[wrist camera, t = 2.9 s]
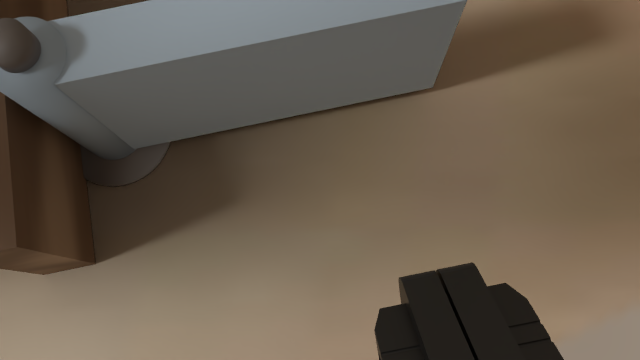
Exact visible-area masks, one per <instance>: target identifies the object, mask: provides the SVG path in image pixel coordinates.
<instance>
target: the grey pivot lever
mask: <svg viewBox="0 0 640 360" xmlns="http://www.w3.org/2000/svg"><path fill="white" fill-rule="evenodd" d="M466 2H467V0H149V1H144V2H139V3H134V4H129V5H124V6H119V7H114V8H110V9H105V10H100V11H95V12H90V13H85V14H80V15H75V16H70V17H65V18H60V19H56V20H51V21H48V22H47V21H45V20H43V19H40V18H37V17H18V18H14V19H16V20H18V21H19V22H21V23H22V24H23V25H24V26H25V27H26V28H27V29H28V30H29V31H31V32H32V33H33V34H34V35H35V36H36V37H37V38H38V40H39V42H40V44H41V54H40V57H39V59H38V61H37V62H36V64H35V65H34V66H33V67H31V68H30V69H29V70H27V71H24V72H21V73H10V72H7V71H5V70H3V69H2V68H0V92H1V93H3V94H4V95H6V96H7V97H9V98H10V99H12V100H14V101H15V102H17V103H18V104H20V105H21V106H23V107H24V108H26V109H27V110H29V111H30V112H32V113H33V114H35V115H36V116H38V117H39V118H41V119H42V120H44V121H45V122H47V123H48V124H50V125H51V126H53V127H55V128H56V129H58V130H59V131H61V132H62V133H64V134H65V135H67V136H68V137H70V138H71V139H73V140H74V141H76V142H77V143H79V144H80V145H82V146H83V147H85V148H86V149H88V150H89V151H91V152H92V153H94V154H95V155H97V156H99V157H101V158H103V159H108V160H117V159H121V158H124V157H127V156H128V155H130V154H131V153H133V152H134V151H135V150H136V149H137V148H142V147H147V146H151V145H156V144H161V143H166V142H171V141H176V140H180V139H185V138H190V137H195V136H200V135H205V134H210V133H214V132H219V131H224V130H229V129H234V128H239V127H243V126H248V125H253V124H258V123H263V122H268V121H273V120H277V119H282V118H287V117H292V116H297V115H302V114H306V113H311V112H316V111H321V110H326V109H331V108H336V107H340V106H345V105H350V104H355V103H360V102H365V101H369V100H374V99H379V98H384V97H389V96H394V95H399V94H403V93H408V92H413V91H418V90H423V89H428V88H432V87H433V85H434V83H435V80H436V78H437V75H438V73H439V70H440V68H441V65H442V63H443V60H444V58H445V55H446V52H447V50H448V47H449V45H450V42H451V40H452V37H453V35H454V32H455V30H456V27H457V25H458V22H459V19H460V17H461V14H462V12H463V9H464V7H465V4H466Z"/></svg>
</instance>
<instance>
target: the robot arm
mask: <svg viewBox="0 0 640 360" xmlns="http://www.w3.org/2000/svg"><path fill="white" fill-rule="evenodd" d="M399 289H400V297H401V305H396V306H391V307H386V308H381V309H380V310H379V314H378V318H377V322H376V326H375V336H376V342H377V349H378V355H379V360H564V359H563V358H562V356H561V354H560V353H559V351H558V349H557V348H556V346H555V344H554V343H553V342H551V339H550V336H549V334H548V333H547V331H546V329H545V328H544V326H543V324H541V323H540V320H539V318H538V316H537V315H536V313H535V311H534V310H533V308H532V306H531V305H530V303H529V301H528V300H527V299H526V298H525V297H524V296H522V295H521V294H520V293H518V292H517V291H516V290H514V289H513V288H512V287H510V286H509V285H508V284H506V283H503V284H498V285H493V286H488V287H487V286H486V284H485V282H484V280H483V278H482V276H481V274H480V273H479V271H478V269H477V267H476V266H475V264H474V263H467V264H462V265H458V266H453V267H448V268H443V269H438V270H436V272H435V271H429V272H424V273H419V274H414V275H409V276H404V277H399Z"/></svg>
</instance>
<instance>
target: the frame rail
mask: <svg viewBox="0 0 640 360" xmlns="http://www.w3.org/2000/svg"><path fill="white" fill-rule="evenodd" d="M18 17H37V18H40V19H43V20H45V21H47V22H48V21H51V20H56V19H60V18H65V17H68V11H67V2H66V0H0V68H2V69H3V70H5V71H7V72H10V73H21V72H24V71H27V70H29V69H30V68H31V67H33V66H34V65H35V64H36V62H37V61H38V59H39V57H40V54H41V44H40V42H39V40H38V38H37V37H36V36H35V35H34V34H33V33H32V32H31V31H29V30H28V29H27V28H26V27H25V26H24V25H23V24H22V23H21V22H19V21H18V20H16V19H14V18H18ZM169 144H170V142H166V143H161V144H156V145H151V146H147V147H142V148H137V149H136V150H135V151H134V152H133V153H131V154H130V155H128V156H127V157H124V158H121V159H117V160H108V159H103V158H101V157H99V156H97V155H95V154H94V153H92V152H91V151H89V150H88V149H86V148H85V147H83V146H82V145H80V144H79V143H77V142H76V141H74V140H73V139H71V138H70V137H68V136H67V135H65V134H64V133H62V132H61V131H59V130H58V129H56V128H55V127H53V126H51V125H50V124H48V123H47V122H45V121H44V120H42V119H41V118H39V117H38V116H36V115H35V114H33V113H32V112H30V111H29V110H27V109H26V108H24V107H23V106H21V105H20V104H18V103H17V102H15V101H14V100H12V99H10V98H9V97H7V96H6V95H4V94H3V93H1V92H0V269H6V270H14V271H21V272H28V273H35V274H42V275H45V274H50V273H55V272H59V271H64V270H69V269H74V268H79V267H83V266H88V265H93V264H96V263H95V254H94V245H93V236H92V227H91V218H90V209H89V200H88V191H87V182H86V179H87V180H88V181H90V182H93V183H95V184H99V185H103V186H122V185H127V184H131V183H133V182H136V181H138V180H140V179H142V178H144V177H145V176H147V175H148V174H149V173H151V172H152V171H153V170H154V169H155V168H156V167H157V166H158V165H159V163H160V162H161V161H162V159H163V158H164V156H165V154H166V152H167V150H168V147H169Z"/></svg>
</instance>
